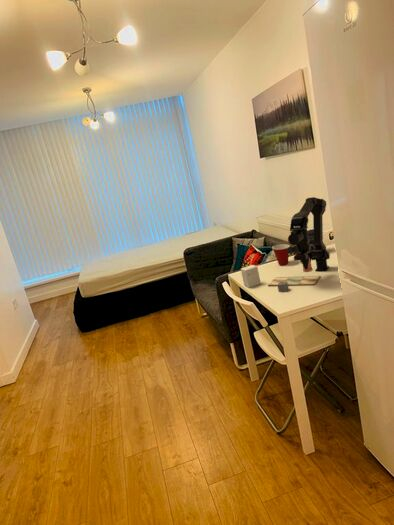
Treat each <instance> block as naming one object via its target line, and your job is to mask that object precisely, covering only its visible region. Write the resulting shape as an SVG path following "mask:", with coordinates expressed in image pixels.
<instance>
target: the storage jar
mask: <svg viewBox="0 0 394 525" xmlns="http://www.w3.org/2000/svg"><path fill="white" fill-rule="evenodd" d="M307 233H308V239H310V242H309V244H313V242H314V229H309V230H308V229H307Z"/></svg>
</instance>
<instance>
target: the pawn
mask: <svg viewBox="0 0 394 525" xmlns="http://www.w3.org/2000/svg"><path fill="white" fill-rule="evenodd" d="M308 257H309V256H308ZM302 267H303V269H302V270H303V273H311V272H312V271H313V269H314V268H313V267H312V260H310V258H309V263H308V268H307V269H305V268H304V266H303V265H302Z"/></svg>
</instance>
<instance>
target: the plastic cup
mask: <svg viewBox="0 0 394 525" xmlns="http://www.w3.org/2000/svg"><path fill="white" fill-rule="evenodd" d="M290 246H291V244H290V245H289V244H283V243H282V244H281V243H280V244H276V245H272V247H271V249H272V250H273V253H274V256H275V258H276V261H277V263H278V265H279V266H287V265H289V255H290V254H289V253H287V248H288V247H290Z"/></svg>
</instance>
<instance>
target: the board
mask: <svg viewBox="0 0 394 525" xmlns="http://www.w3.org/2000/svg"><path fill="white" fill-rule="evenodd" d="M320 278H321V275H302V276H301V275H299V276H278V277H277V276H276V277H273V279H272V280H271V281H270V282H269V283H268V284H267V287H278V284H279V283H280V282H288V287H296V286H297V287H298V286H299V287H300V286H303V287H304V286H315V285H317V283H318V281H319V280H320Z"/></svg>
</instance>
